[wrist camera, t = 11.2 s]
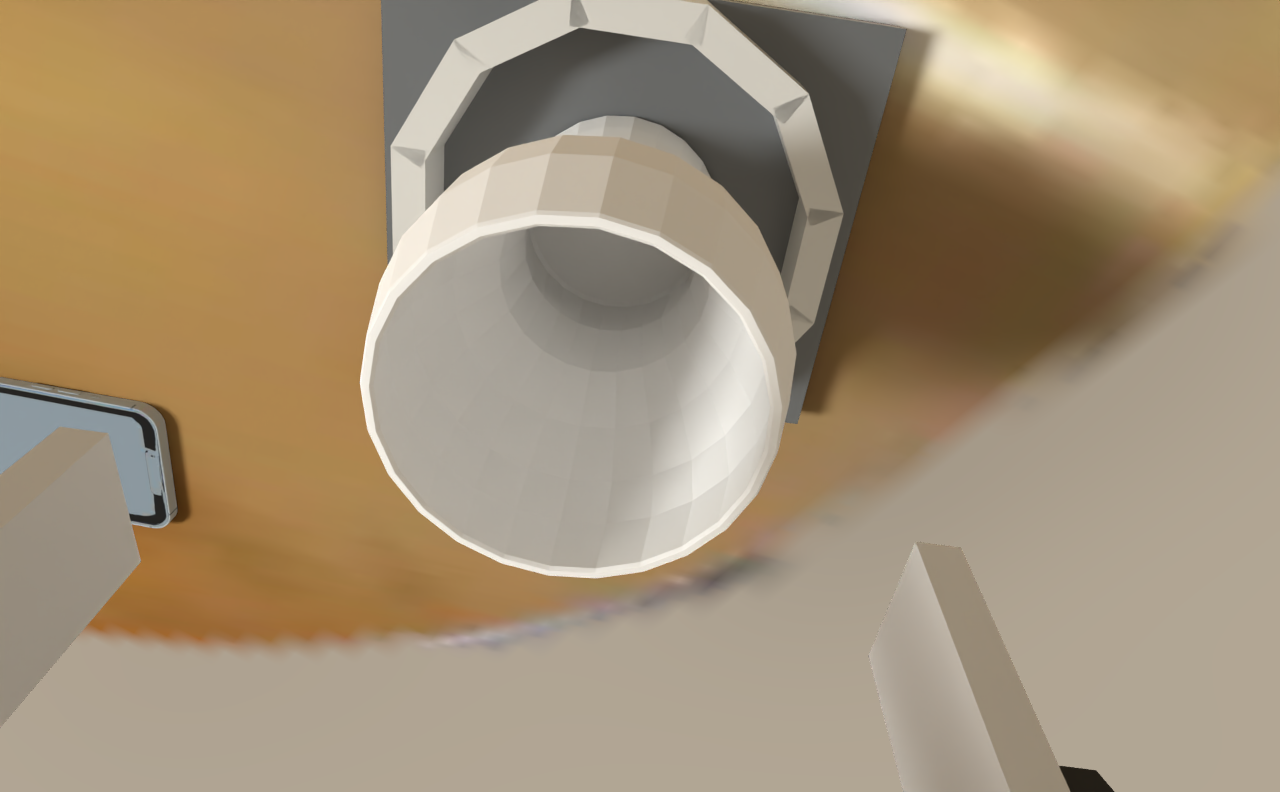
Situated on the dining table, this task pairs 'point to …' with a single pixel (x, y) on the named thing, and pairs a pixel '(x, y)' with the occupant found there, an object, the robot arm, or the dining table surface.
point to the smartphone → (29, 412)
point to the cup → (581, 354)
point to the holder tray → (652, 109)
